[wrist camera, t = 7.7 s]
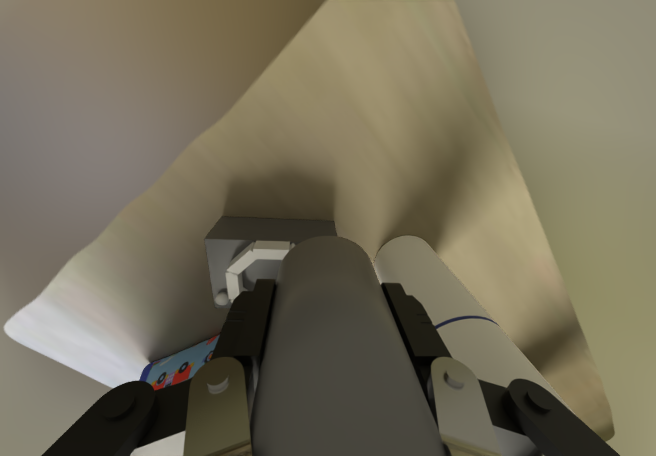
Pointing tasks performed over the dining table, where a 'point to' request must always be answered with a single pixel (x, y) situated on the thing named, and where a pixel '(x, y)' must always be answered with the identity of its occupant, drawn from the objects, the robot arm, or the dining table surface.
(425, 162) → the dining table surface
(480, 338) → the cylindrical container
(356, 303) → the lens
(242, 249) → the camera body
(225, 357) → the robot arm
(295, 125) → the dining table surface
